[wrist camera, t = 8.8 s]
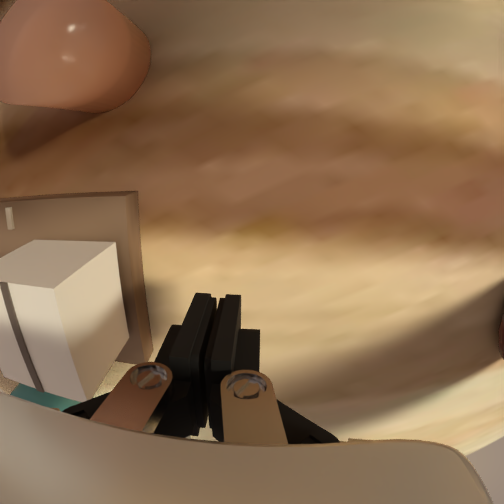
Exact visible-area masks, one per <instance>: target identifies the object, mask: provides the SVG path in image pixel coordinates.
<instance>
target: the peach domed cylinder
mask: <svg viewBox="0 0 504 504" xmlns="http://www.w3.org/2000/svg"><path fill="white" fill-rule="evenodd" d="M150 60H151V50H150V44H149V41H148V39H147V37H146V35H145V34H144V33H143V32H142V31H141V30H140V29H139V28H138V27H137V26H136V25H135V24H134V23H132V22H131V21H130V20H129V19H128V18H127V17H125V16H124V15H123V14H122V13H121V12H119V11H118V10H117V9H116V8H115V7H113V6H112V5H111V4H110V3H109V2H107V1H106V0H17V1H16V2H15V3H14V4H13V5H12V6H11V8H10V9H9V10H8V11H7V13H6V14H5V16H4V17H3V19H2V20H1V22H0V101H1V102H4V103H7V104H14V105H28V106H39V107H50V108H59V109H68V110H76V111H83V112H90V113H102V112H107V111H110V110H113V109H115V108H117V107H119V106H120V105H122V104H124V103H125V102H126V101H127V100H129V99H130V98H131V97H132V96H133V95H134V94H135V93H136V91H137V90H138V89H139V87H140V86H141V85H142V83H143V81H144V79H145V77H146V75H147V72H148V69H149V66H150Z"/></svg>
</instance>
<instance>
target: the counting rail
mask: <svg viewBox="0 0 504 504" xmlns="http://www.w3.org/2000/svg"><path fill="white" fill-rule="evenodd" d="M33 240H63V241H97V242H116V250H117V260H118V268H119V276H120V284H121V291H122V298H123V304H124V310H125V316H126V322H127V328H128V333H129V339H128V340H127V342H126V344H125V345H124V347H123V348H122V350H121V351H120V353H119V355H118V356H117V358H116V360H115V361H118V362H124V363H130V364H140V363H144V362H148V360H149V358H150V356H151V354H152V352H153V345H152V338H151V332H150V325H149V317H148V310H147V302H146V294H145V285H144V275H143V265H142V254H141V241H140V227H139V209H138V191H121V192H91V193H70V194H53V195H38V196H25V197H13V198H1V199H0V258H1V257H3V256H5V255H7V254H8V253H10V252H12V251H14V250H16V249H18V248H20V247H21V246H23V245H25V244H27V243H29V242H31V241H33Z"/></svg>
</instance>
